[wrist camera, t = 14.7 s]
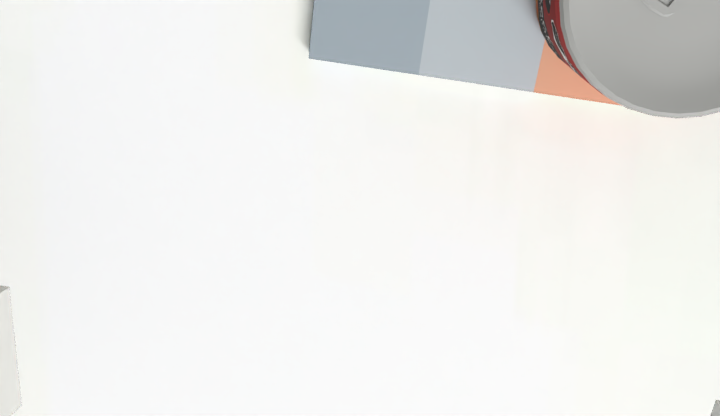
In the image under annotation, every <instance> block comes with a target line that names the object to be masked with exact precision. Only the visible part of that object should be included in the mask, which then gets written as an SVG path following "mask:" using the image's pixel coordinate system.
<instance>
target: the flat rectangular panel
mask: <svg viewBox="0 0 720 416" xmlns="http://www.w3.org/2000/svg"><path fill="white" fill-rule="evenodd" d="M309 58H310V59H316V60H323V61H330V62H336V63H343V64H350V65H356V66H363V67H369V68H376V69H383V70H389V71H396V72H403V73H409V74H416V75H423V76H429V77H436V78H443V79H449V80H456V81H463V82H469V83H476V84H482V85H489V86H496V87H502V88H509V89H516V90H522V91H529V92H536V93H542V94H549V95H556V96H562V97H569V98H576V99H582V100H589V101H596V102H602V103H609V104H615V105H620V104H618V103H616V102H614V101H612V100H610V99H609V98H607V97H606V96H604V95H603V94H601V93H600V92H598V91H597V90H596V89H595V88H594V87H592V86H591V85H590V84H589V83H587V82H586V81H585V80H584V79H583V78H581V77H580V76H579V75H578V74H577V73H576V72H574V71H573V70H572V69H571V68H570V67H569V66H567V65H566V64H565V63H564V62H563V61H562V60H560V59H559V58H558V57H557V55H556V54H555V53H554V52H553V51H552V49H551V48H550V47H549V46H548V44H547V42H546V40H545V38H544V36H543V34H542V32H541V29H540V26H539V22H538V18H537V12H536V0H314V8H313V19H312V29H311V40H310V50H309Z"/></svg>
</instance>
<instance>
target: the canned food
mask: <svg viewBox="0 0 720 416" xmlns="http://www.w3.org/2000/svg"><path fill="white" fill-rule="evenodd" d="M536 12H537V18H538V22H539V26H540V29H541V32H542V34H543V36H544V38H545V40H546V42H547V44H548V46H549V47H550V48H551V49H552V51H553V52H554V53H555V54H556V55H557V57H558V58H559V59H560V60H562V61H563V62H564V63H565V64H566V65H567V66H569V67H570V68H571V69H572V70H573V71H574V72H576V73H577V74H578V75H579V76H580V77H581V78H583V79H584V80H585V81H586V82H587V83H589V84H590V85H591V86H592V87H594V88H595V89H596V90H597V91H598V92H600V93H601V94H603V95H604V96H606V97H607V98H609V99H610V100H612V101H614V102H616V103H618V104H620V105H622V106H624V107H626V108H628V109H631V110H635V111H638V112H641V113H645V114H648V115H652V116H660V117H669V118H687V117H700V116H705V115H709V114H713V113H717V112H720V0H536Z"/></svg>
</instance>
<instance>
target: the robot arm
mask: <svg viewBox="0 0 720 416" xmlns="http://www.w3.org/2000/svg"><path fill="white" fill-rule="evenodd" d="M20 406H22V401H21V392H20V382H19V373H18V364H17V354H16V345H15V336H14V326H13V317H12V308H11V298H10V289H9V287H6V286H0V416H11V415H12V414H13V413H14V412H15V411H16V410H17V409H18V408H19V407H20ZM711 416H720V401H719V400H716V401H715V404H714V407H713V410H712V413H711Z"/></svg>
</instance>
